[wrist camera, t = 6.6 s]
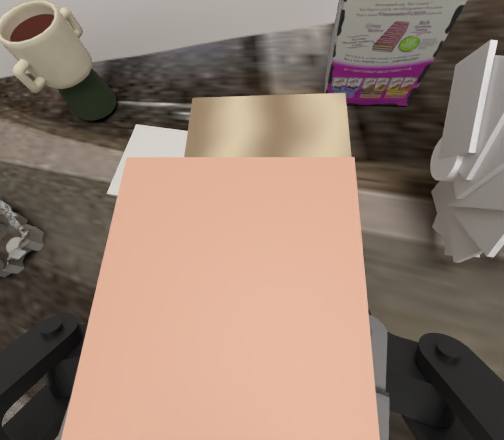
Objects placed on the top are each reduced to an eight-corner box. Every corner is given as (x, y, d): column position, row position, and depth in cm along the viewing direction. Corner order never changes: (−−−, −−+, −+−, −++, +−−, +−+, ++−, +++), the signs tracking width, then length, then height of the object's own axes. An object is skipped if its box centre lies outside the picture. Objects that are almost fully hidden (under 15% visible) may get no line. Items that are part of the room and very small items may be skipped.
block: (212, 370, 15) (46, 497, 4) (221, 262, 18) (126, 157, 6) (303, 376, 15) (388, 534, 4) (301, 265, 17) (354, 157, 6)
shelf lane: (207, 366, 29) (148, 404, 16) (223, 179, 36) (192, 97, 23) (329, 374, 27) (375, 421, 14) (320, 179, 35) (345, 92, 22)
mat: (109, 195, 37) (106, 193, 36) (138, 127, 40) (136, 124, 40) (187, 209, 35) (186, 207, 34) (210, 136, 38) (209, 134, 38)
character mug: (97, 76, 44) (29, -16, 32) (135, 85, 43) (79, -8, 31) (60, 131, 41) (-31, 51, 29) (100, 142, 40) (22, 63, 28)
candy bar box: (404, 78, 39) (486, -80, 24) (407, 107, 37) (497, -43, 22) (322, 78, 40) (350, -72, 25) (322, 105, 39) (350, -37, 23)
